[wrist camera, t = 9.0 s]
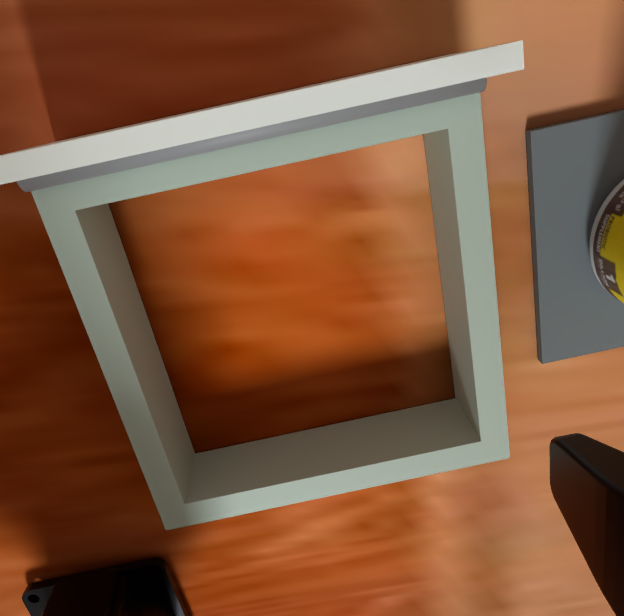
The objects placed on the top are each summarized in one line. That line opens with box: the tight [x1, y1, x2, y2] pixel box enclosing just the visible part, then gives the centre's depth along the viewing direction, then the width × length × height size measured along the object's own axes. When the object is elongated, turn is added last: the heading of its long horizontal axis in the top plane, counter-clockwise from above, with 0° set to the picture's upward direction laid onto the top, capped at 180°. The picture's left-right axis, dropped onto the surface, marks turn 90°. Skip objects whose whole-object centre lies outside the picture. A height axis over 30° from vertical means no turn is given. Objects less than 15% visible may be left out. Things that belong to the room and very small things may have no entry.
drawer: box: [0, 40, 524, 530], centre depth 18 cm, size 14×13×6 cm
